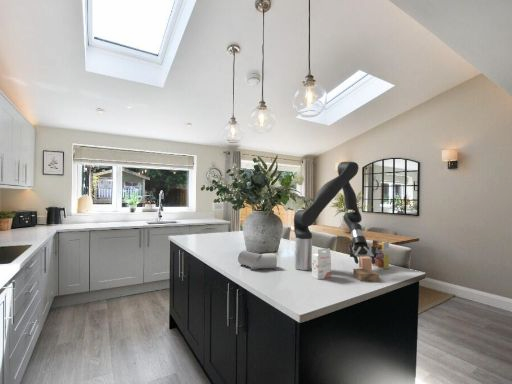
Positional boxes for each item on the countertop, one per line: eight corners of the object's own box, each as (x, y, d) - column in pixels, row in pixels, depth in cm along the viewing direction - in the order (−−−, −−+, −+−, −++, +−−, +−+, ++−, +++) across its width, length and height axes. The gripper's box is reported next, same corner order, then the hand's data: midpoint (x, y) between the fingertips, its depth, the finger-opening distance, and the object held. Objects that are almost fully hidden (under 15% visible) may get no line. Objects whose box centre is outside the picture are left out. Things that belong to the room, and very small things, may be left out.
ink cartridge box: (324, 274, 137) (324, 246, 137) (331, 277, 132) (331, 248, 133) (311, 276, 133) (311, 247, 133) (318, 279, 128) (318, 249, 129)
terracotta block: (362, 273, 141) (362, 258, 141) (359, 270, 146) (359, 256, 146) (371, 273, 140) (371, 258, 140) (368, 270, 145) (368, 256, 145)
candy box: (372, 265, 158) (372, 239, 158) (377, 264, 159) (377, 239, 159) (383, 269, 149) (383, 242, 150) (389, 268, 151) (389, 242, 151)
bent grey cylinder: (241, 270, 139) (277, 268, 143) (241, 250, 141) (276, 249, 146) (237, 269, 156) (269, 267, 160) (236, 250, 158) (268, 250, 162)
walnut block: (360, 282, 127) (360, 273, 127) (353, 276, 136) (353, 268, 136) (378, 282, 127) (378, 273, 127) (370, 276, 136) (370, 268, 136)
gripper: (347, 234, 152) (353, 259, 141) (372, 235, 151) (380, 260, 140) (345, 242, 157) (350, 266, 146) (369, 243, 157) (376, 267, 145)
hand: (365, 263), depth 143 cm, fingers open, 8 cm apart
